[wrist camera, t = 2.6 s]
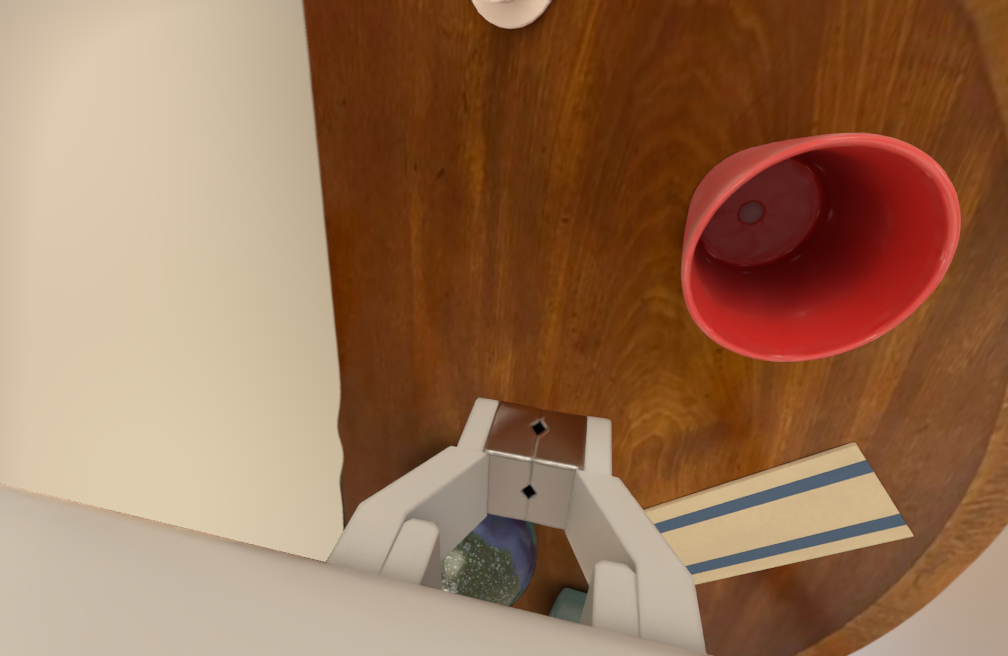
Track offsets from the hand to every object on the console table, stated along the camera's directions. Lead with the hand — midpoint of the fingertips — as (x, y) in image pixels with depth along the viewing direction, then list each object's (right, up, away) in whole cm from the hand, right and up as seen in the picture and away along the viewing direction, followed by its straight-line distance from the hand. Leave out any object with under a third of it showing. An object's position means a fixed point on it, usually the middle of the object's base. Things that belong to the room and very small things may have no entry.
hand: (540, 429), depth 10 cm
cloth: (+23, -16, +31) cm, 42 cm away
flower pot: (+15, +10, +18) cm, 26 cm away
